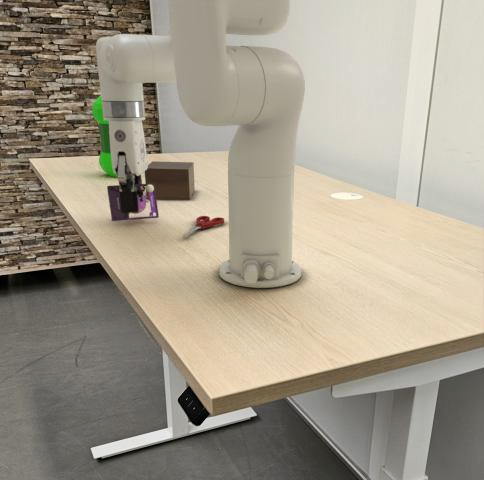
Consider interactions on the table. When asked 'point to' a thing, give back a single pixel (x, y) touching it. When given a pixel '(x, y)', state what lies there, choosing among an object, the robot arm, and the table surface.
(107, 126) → the plastic bottle
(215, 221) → the scissors
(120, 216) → the purple toy box
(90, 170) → the table surface
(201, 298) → the table surface
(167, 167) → the walnut block
